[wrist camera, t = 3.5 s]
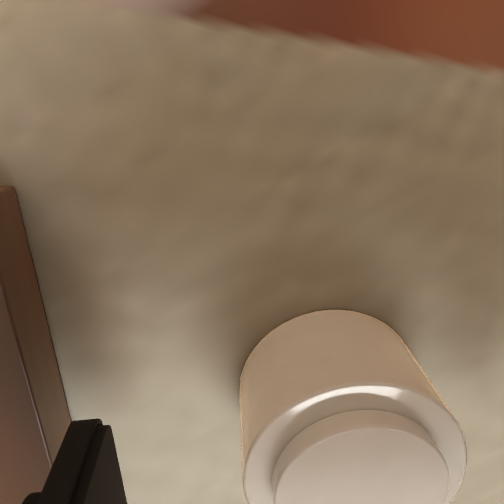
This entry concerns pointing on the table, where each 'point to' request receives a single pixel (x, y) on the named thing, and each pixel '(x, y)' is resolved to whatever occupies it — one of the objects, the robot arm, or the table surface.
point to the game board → (25, 368)
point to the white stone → (344, 418)
